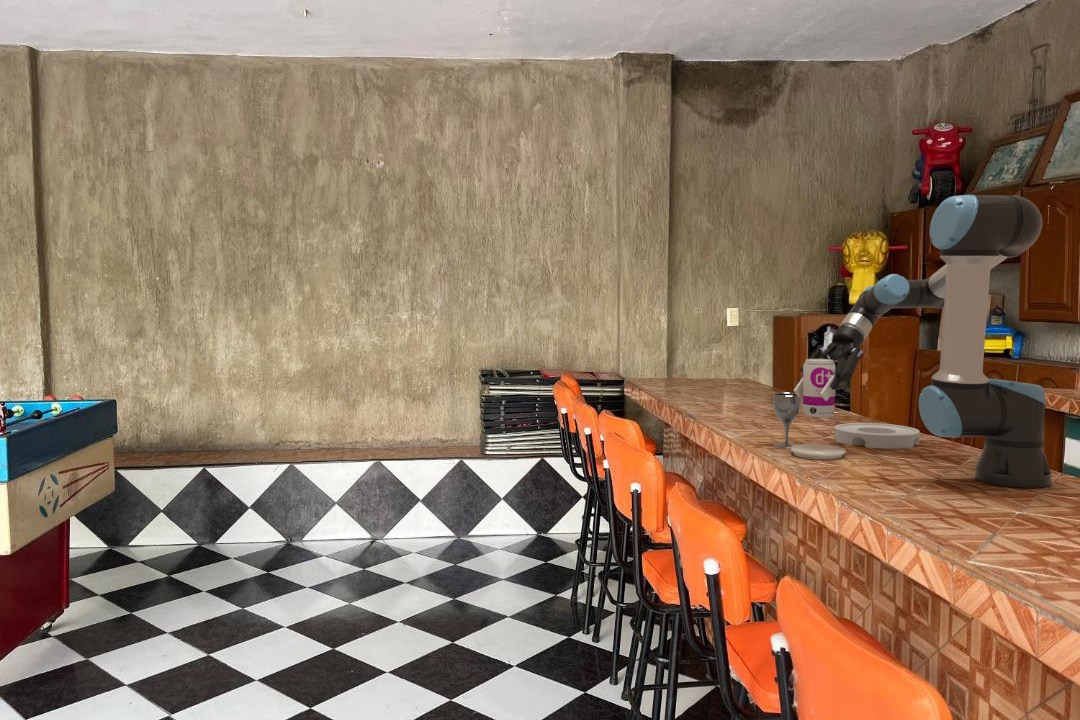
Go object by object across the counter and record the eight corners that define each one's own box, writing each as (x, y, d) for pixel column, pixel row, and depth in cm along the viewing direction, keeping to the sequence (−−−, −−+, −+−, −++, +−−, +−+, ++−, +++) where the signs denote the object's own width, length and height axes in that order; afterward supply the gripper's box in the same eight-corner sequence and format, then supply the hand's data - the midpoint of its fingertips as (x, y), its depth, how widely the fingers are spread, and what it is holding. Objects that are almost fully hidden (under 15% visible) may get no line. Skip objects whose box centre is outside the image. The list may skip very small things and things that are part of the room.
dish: (852, 460, 207) (852, 453, 207) (797, 460, 208) (798, 453, 208) (836, 450, 221) (836, 444, 221) (785, 450, 222) (785, 443, 222)
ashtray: (934, 449, 223) (934, 435, 222) (851, 449, 223) (851, 435, 223) (898, 435, 246) (899, 422, 246) (823, 435, 246) (823, 423, 246)
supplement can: (836, 418, 209) (838, 361, 208) (804, 417, 210) (805, 361, 209) (831, 413, 217) (833, 358, 216) (800, 412, 218) (801, 358, 217)
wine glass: (797, 443, 232) (798, 392, 230) (803, 448, 224) (804, 395, 223) (769, 443, 232) (770, 392, 231) (775, 448, 224) (775, 395, 223)
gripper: (891, 344, 211) (849, 409, 204) (826, 340, 229) (786, 400, 222) (878, 325, 208) (835, 390, 201) (814, 323, 226) (773, 382, 219)
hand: (810, 395), depth 212 cm, fingers closed on supplement can, 8 cm apart
